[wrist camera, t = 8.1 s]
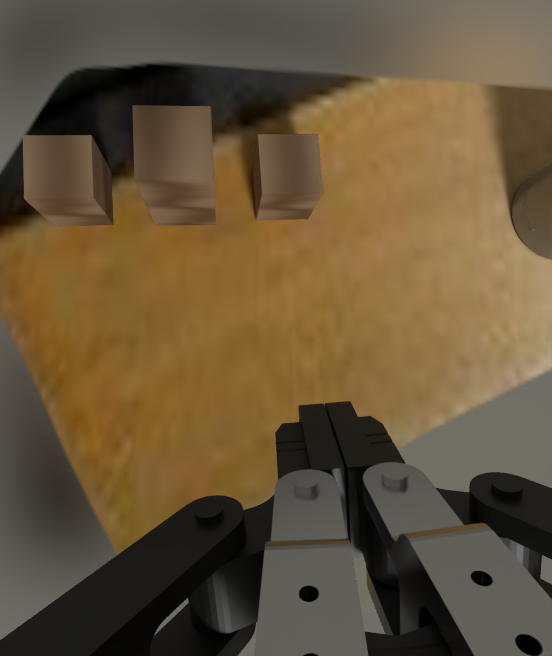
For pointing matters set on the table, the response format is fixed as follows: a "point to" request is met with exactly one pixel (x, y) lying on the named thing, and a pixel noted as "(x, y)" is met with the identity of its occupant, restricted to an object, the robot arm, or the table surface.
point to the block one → (286, 176)
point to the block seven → (67, 179)
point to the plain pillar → (175, 163)
